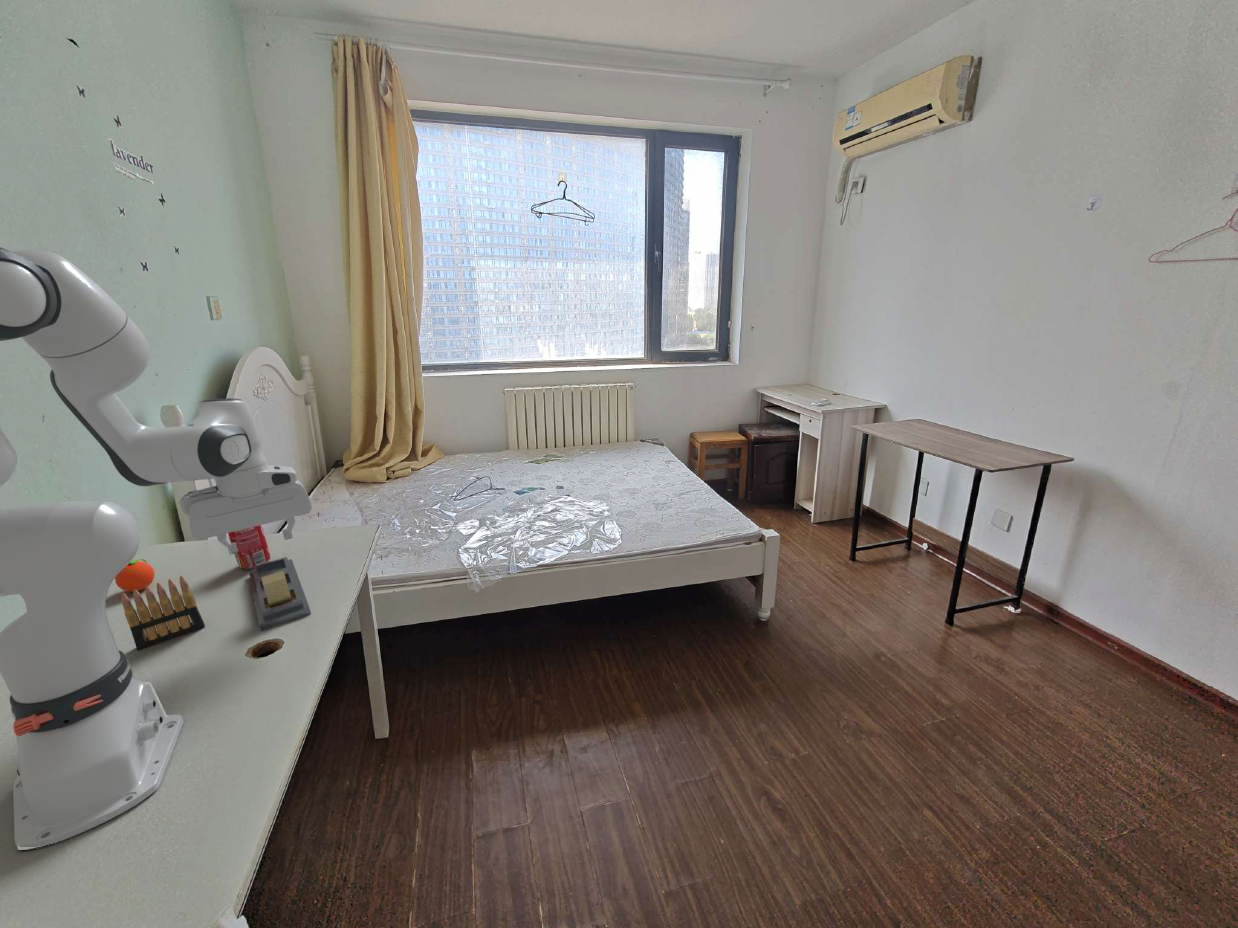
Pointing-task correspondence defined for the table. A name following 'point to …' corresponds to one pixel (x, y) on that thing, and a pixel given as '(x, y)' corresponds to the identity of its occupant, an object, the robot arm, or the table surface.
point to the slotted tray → (285, 611)
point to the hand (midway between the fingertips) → (262, 545)
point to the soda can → (250, 547)
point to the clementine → (135, 576)
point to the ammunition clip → (162, 615)
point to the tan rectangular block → (276, 589)
